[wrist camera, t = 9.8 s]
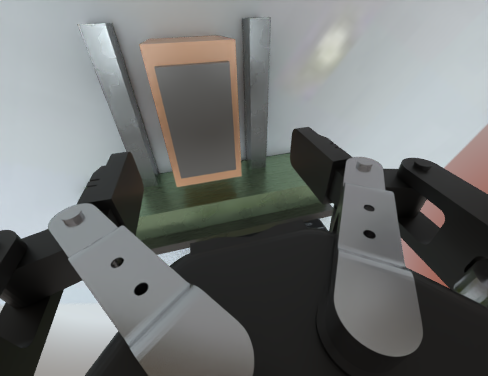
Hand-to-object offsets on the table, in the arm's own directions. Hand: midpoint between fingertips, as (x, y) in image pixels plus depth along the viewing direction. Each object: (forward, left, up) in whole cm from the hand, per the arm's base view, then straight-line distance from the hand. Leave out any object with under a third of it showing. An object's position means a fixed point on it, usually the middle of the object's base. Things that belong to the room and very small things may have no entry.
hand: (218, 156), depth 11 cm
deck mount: (0, +2, -10) cm, 10 cm away
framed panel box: (0, 0, -10) cm, 10 cm away
